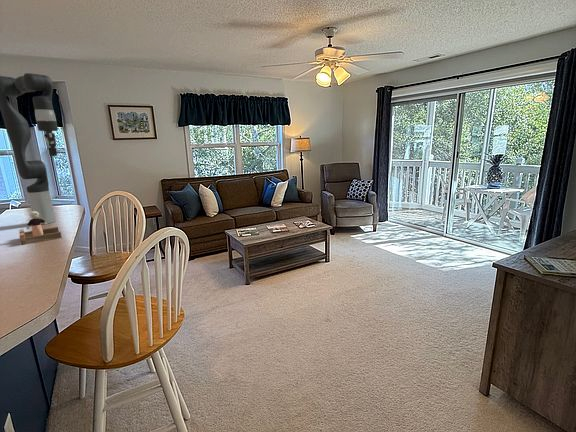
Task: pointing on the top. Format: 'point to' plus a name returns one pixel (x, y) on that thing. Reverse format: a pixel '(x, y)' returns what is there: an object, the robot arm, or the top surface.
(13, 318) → the top surface
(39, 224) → the grandmother figurine
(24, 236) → the trap box
